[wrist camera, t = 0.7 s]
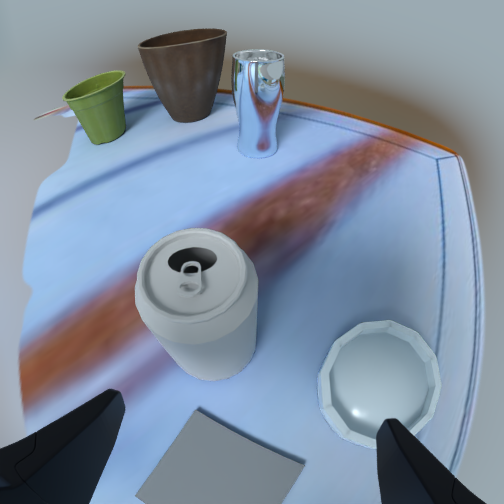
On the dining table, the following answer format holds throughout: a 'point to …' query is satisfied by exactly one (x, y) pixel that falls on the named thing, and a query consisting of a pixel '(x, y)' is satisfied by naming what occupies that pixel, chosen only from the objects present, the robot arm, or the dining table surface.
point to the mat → (218, 469)
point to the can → (200, 301)
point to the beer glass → (257, 99)
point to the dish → (378, 381)
